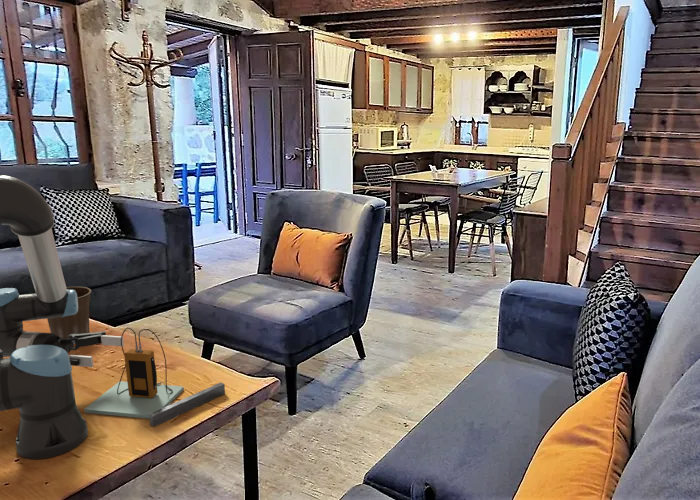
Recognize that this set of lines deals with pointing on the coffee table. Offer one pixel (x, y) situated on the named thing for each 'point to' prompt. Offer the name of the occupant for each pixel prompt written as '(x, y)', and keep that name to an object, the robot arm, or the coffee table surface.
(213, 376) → the coffee table surface
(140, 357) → the corded orange upright block
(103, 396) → the plate
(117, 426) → the coffee table surface
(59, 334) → the plant pot
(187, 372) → the coffee table surface
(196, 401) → the guide rail
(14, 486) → the coffee table surface
